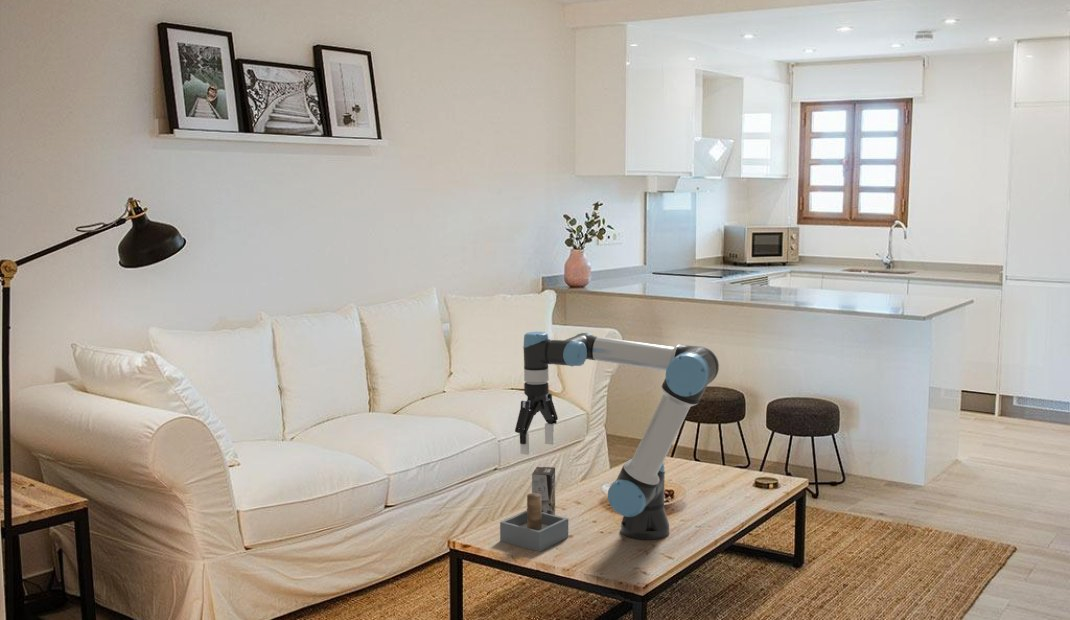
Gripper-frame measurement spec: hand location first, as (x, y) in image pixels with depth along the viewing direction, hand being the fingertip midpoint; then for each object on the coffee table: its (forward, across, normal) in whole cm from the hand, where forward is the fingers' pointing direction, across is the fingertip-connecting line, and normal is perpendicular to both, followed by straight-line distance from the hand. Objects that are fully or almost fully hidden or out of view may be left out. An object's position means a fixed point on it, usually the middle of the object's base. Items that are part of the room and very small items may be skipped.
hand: (537, 449), depth 314 cm
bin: (+27, +6, +3) cm, 28 cm away
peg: (+27, +6, +3) cm, 28 cm away
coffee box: (+27, -11, -5) cm, 30 cm away
